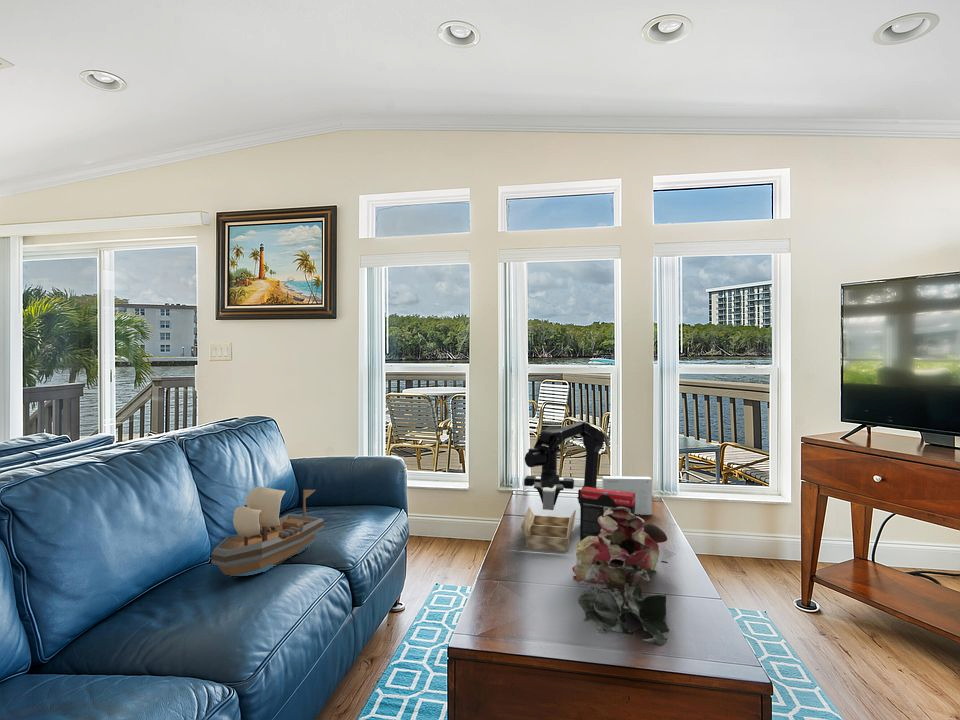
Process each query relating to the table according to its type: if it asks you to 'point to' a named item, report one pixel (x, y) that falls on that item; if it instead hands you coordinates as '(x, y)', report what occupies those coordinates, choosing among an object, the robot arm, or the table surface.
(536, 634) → the table surface
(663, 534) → the decorative mushroom
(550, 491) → the box
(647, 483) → the skincare box
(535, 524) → the wooden cubby shelf
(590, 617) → the rose bouquet
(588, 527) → the graphics card box
